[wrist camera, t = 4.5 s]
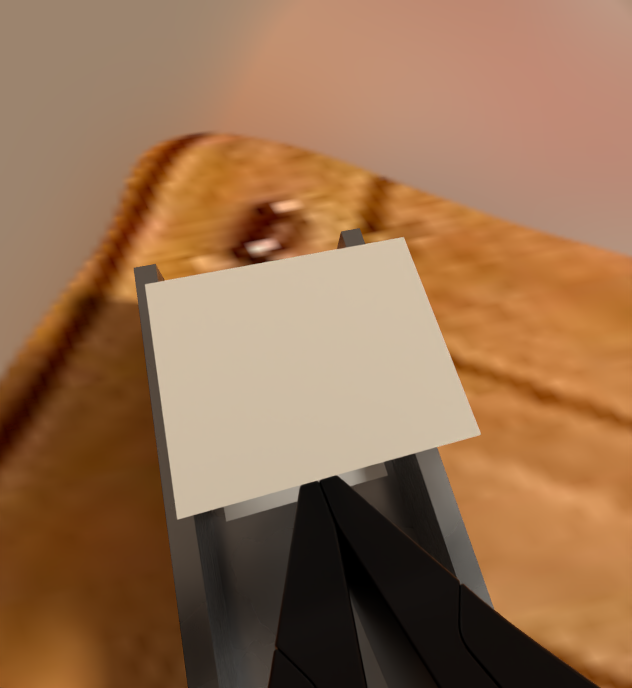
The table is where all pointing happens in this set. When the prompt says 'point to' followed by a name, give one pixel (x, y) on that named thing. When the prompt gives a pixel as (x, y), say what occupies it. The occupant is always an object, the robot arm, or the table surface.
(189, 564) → the rail housing
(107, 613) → the table surface
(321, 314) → the cream rectangular block
